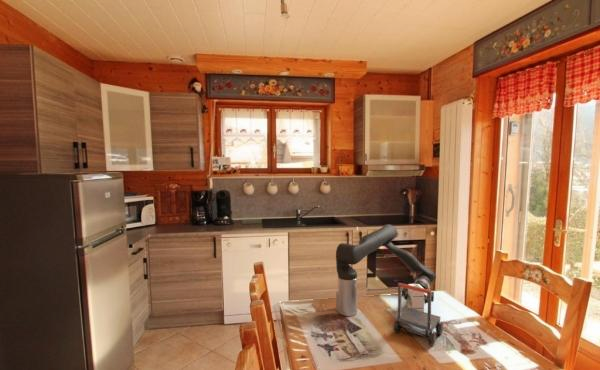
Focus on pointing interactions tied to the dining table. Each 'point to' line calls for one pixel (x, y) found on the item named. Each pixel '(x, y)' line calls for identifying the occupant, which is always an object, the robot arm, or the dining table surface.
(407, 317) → the trolley
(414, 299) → the syrup box
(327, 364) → the dining table surface
